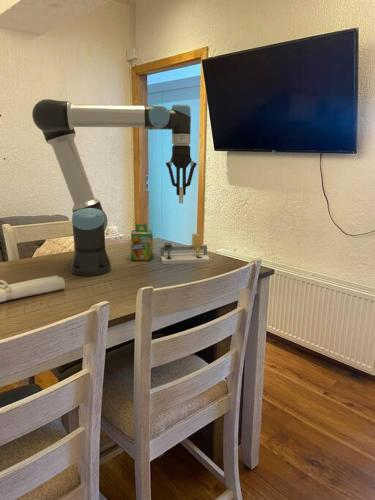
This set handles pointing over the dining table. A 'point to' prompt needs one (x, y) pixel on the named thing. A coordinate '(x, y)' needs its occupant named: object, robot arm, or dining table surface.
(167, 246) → the fixed leg
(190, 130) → the robot arm
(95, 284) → the dining table surface
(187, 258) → the hole plate
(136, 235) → the chalk box
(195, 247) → the block
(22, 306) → the dining table surface
